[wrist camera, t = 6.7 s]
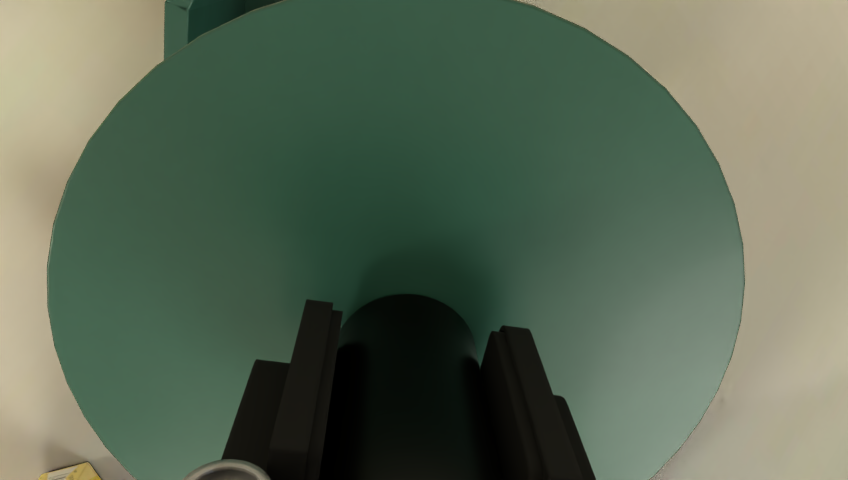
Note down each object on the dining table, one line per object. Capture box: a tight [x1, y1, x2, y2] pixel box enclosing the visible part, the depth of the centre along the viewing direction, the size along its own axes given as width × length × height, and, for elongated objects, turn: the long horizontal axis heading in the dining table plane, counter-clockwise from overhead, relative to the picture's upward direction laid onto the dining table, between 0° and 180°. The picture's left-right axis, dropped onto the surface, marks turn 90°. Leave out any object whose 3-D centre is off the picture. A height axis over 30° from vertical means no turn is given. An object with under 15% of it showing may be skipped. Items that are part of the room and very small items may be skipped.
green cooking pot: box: [164, 0, 283, 60], centre depth 29 cm, size 14×19×10 cm
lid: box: [47, 0, 745, 480], centre depth 11 cm, size 15×15×7 cm
